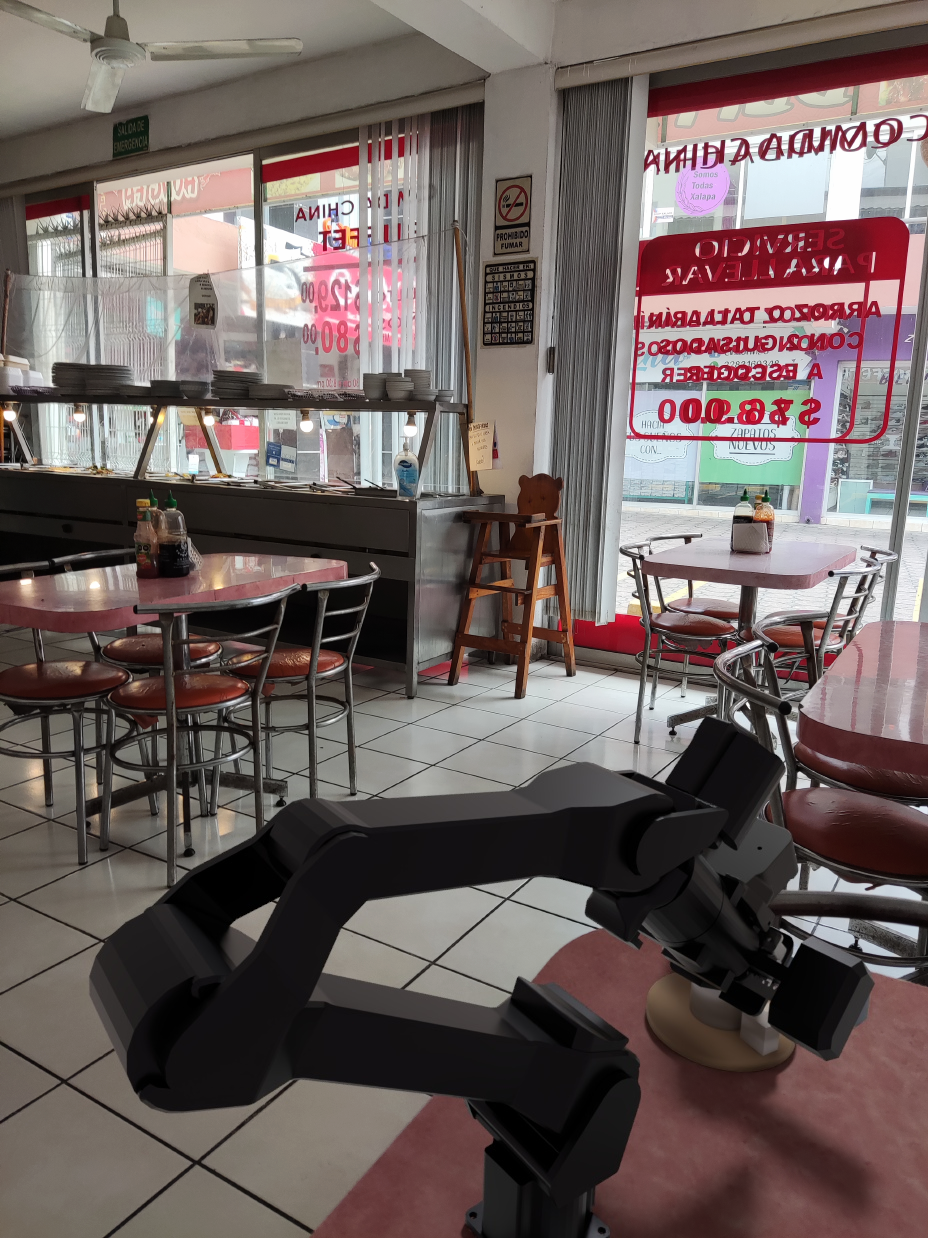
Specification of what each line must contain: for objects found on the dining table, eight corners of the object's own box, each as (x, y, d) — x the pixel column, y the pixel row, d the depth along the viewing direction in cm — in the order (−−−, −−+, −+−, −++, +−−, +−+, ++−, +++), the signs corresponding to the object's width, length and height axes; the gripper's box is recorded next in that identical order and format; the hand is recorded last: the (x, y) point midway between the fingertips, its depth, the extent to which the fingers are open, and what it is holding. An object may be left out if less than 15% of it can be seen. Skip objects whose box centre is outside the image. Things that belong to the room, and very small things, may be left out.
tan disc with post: (738, 1094, 66) (745, 1020, 65) (616, 1012, 75) (621, 946, 74) (824, 1031, 73) (832, 963, 72) (704, 964, 82) (709, 902, 81)
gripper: (877, 845, 52) (939, 953, 61) (632, 754, 66) (711, 852, 75) (789, 1017, 49) (868, 1103, 58) (552, 882, 63) (644, 969, 72)
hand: (764, 991), depth 66 cm, fingers closed
